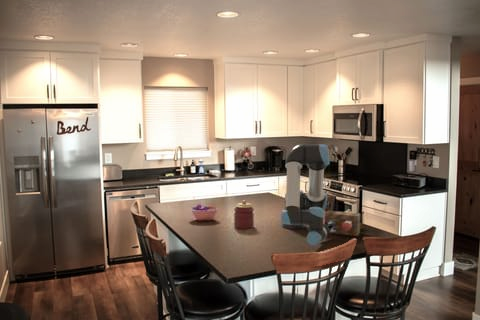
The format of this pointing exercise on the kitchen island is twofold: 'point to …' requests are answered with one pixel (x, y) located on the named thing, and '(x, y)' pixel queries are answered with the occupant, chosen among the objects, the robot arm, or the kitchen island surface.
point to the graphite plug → (332, 220)
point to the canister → (244, 216)
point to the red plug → (347, 225)
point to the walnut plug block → (343, 217)
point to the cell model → (204, 212)
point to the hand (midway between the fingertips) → (331, 223)
